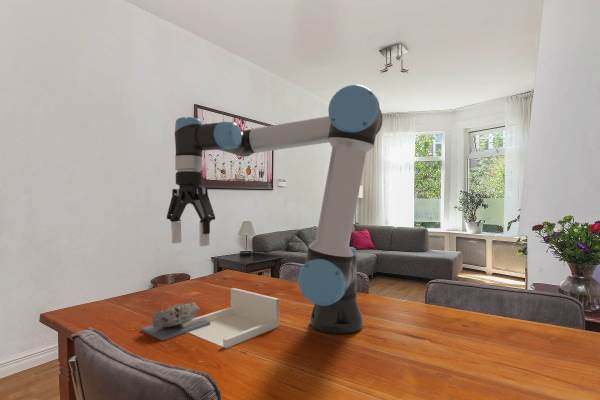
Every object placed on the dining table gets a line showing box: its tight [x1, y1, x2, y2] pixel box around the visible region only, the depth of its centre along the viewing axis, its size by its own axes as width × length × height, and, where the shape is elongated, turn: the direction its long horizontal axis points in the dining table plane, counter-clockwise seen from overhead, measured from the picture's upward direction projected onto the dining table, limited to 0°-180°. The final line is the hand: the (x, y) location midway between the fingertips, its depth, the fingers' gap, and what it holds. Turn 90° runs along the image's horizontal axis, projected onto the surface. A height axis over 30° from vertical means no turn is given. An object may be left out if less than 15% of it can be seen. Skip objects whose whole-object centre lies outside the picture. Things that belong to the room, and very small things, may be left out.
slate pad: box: [141, 315, 210, 341], centre depth 99 cm, size 11×15×1 cm
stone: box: [151, 301, 201, 328], centre depth 100 cm, size 13×6×10 cm
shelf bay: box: [181, 287, 280, 349], centre depth 99 cm, size 20×19×8 cm
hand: (190, 244), depth 102 cm, fingers open, 13 cm apart
